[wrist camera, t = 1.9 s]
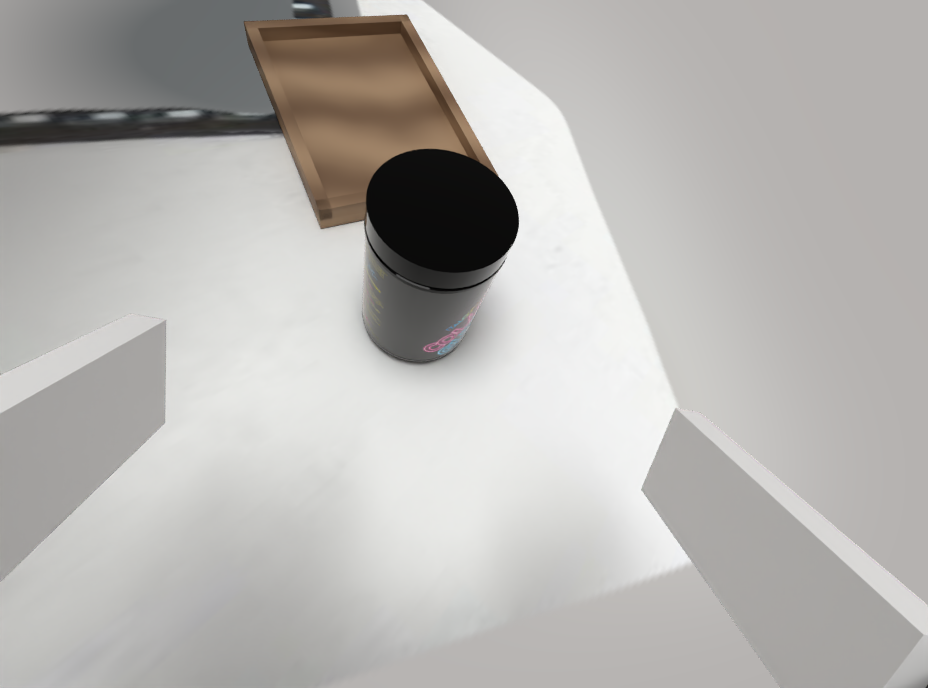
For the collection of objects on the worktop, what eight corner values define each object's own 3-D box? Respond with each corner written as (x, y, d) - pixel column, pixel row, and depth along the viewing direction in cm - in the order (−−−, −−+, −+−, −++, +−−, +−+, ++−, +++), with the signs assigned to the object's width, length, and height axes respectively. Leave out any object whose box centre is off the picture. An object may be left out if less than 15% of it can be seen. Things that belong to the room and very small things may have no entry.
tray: (248, 45, 35) (243, 21, 34) (404, 36, 40) (407, 14, 38) (321, 228, 30) (319, 210, 28) (491, 193, 34) (498, 176, 33)
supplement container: (401, 387, 27) (427, 300, 17) (339, 300, 28) (333, 177, 19) (487, 333, 29) (549, 233, 20) (426, 256, 31) (459, 130, 22)
